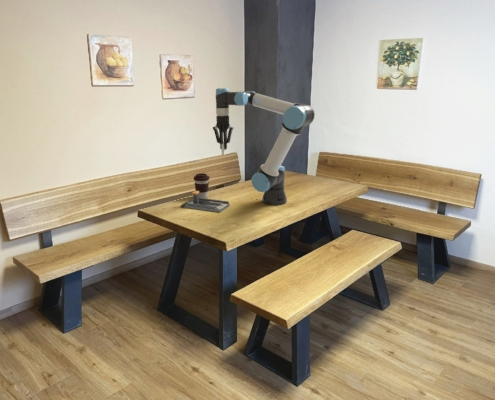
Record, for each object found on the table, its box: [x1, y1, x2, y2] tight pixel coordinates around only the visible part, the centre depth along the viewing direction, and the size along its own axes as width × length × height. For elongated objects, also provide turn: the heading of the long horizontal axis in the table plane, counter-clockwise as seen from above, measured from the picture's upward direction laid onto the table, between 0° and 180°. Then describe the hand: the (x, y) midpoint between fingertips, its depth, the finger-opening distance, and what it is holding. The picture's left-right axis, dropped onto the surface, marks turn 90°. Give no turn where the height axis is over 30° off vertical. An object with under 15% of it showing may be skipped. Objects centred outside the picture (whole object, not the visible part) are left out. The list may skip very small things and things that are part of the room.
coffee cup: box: [193, 172, 210, 199], centre depth 266 cm, size 10×10×15 cm
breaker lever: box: [192, 191, 199, 203], centre depth 250 cm, size 2×4×7 cm, turn 158°
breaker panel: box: [184, 200, 231, 213], centre depth 249 cm, size 26×13×2 cm, turn 68°
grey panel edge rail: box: [180, 198, 193, 209], centre depth 253 cm, size 2×14×2 cm, turn 158°
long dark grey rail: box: [199, 198, 230, 204], centre depth 258 cm, size 24×3×2 cm, turn 68°
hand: (223, 154), depth 253 cm, fingers closed
